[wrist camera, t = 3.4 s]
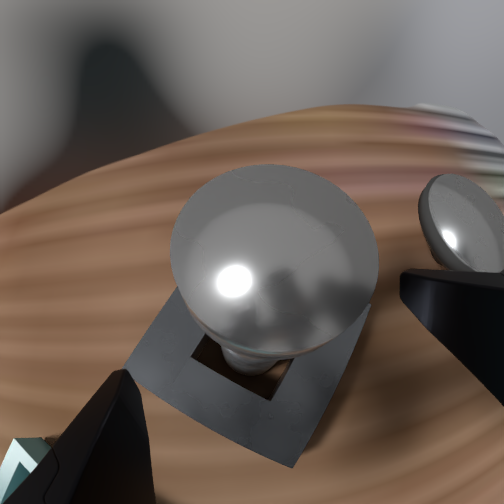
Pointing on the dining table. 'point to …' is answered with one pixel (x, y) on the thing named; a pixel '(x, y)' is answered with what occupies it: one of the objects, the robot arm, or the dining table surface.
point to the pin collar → (233, 395)
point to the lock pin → (273, 263)
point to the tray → (20, 463)
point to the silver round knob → (462, 225)
